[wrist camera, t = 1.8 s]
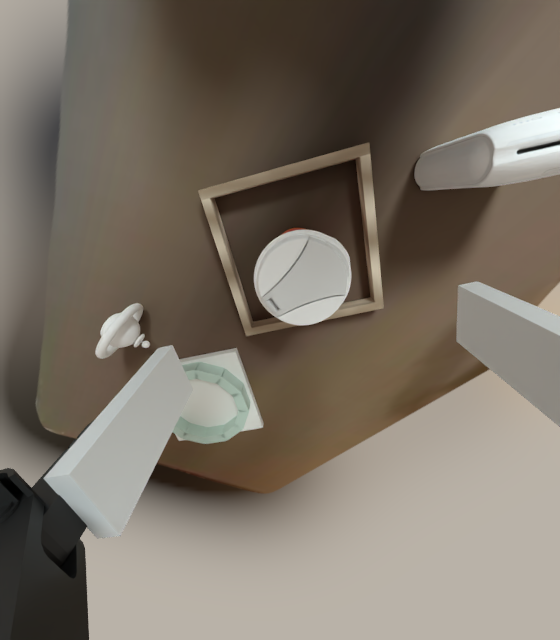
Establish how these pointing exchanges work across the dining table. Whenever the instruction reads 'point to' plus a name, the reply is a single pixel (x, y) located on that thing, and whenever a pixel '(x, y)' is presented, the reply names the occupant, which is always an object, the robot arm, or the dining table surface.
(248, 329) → the tray frame
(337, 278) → the paper cup
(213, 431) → the cup holder
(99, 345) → the ring around a ball
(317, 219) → the dining table surface
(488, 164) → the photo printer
